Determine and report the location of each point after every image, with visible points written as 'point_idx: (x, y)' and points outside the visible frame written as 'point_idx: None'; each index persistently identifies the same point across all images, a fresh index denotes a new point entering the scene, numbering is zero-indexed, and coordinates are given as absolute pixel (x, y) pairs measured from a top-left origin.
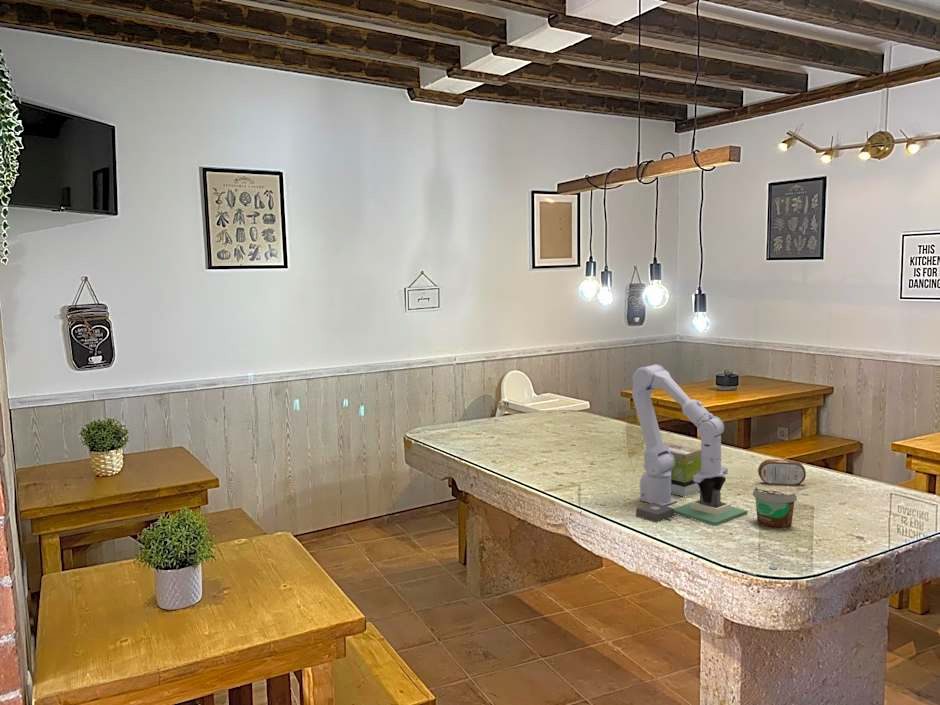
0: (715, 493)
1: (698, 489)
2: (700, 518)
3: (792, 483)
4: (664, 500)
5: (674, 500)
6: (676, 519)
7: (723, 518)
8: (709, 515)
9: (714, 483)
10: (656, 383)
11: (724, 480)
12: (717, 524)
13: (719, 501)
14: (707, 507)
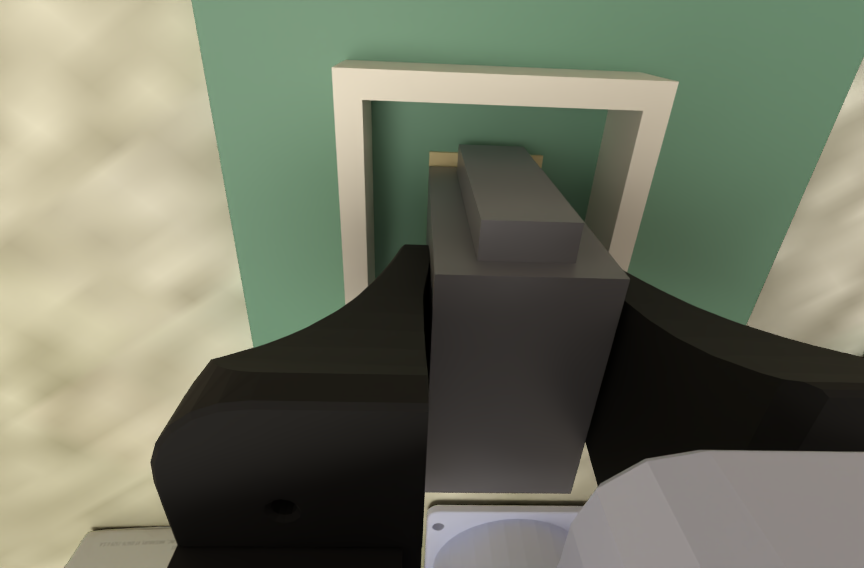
0: (570, 258)
1: (114, 547)
2: (817, 150)
3: None
4: (558, 544)
5: (448, 520)
6: (830, 313)
7: None
8: (683, 133)
9: (792, 376)
10: None
11: (273, 364)
12: None
13: (493, 170)
14: (637, 218)
